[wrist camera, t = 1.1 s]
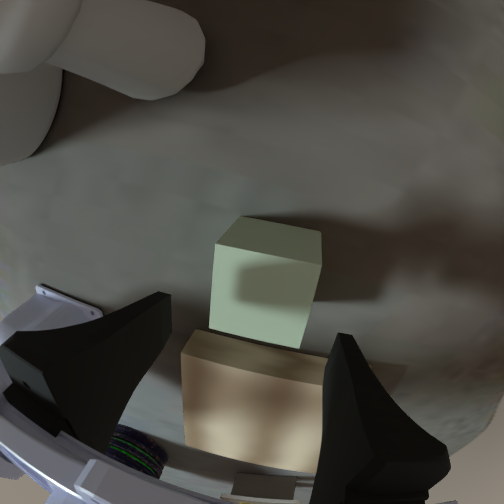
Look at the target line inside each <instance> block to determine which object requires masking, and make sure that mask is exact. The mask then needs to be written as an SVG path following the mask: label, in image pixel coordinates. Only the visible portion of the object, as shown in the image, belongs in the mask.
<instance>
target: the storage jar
mask: <svg viewBox="0 0 504 504" xmlns="http://www.w3.org/2000/svg"><path fill="white" fill-rule="evenodd" d="M105 456H107V457H109V458H111V459H113V460H115V461H117V462H120V463H122V464H124V465H126V466H128V467H130V468H133V469H135V470H137V471H139V472H142V473H144V474H146V475H149V476H151V477H154V478H156V479H159V478H160V476H161V474H162V470H163V468H164V464H165V463H166V462H167V460H168V455H167V453H166V451H165V450H164V449H163V448H162V447H161V446H160V445H159V444H158V443H156V442H155V441H154V440H152V439H151V438H149V437H148V436H146V435H144V434H143V433H141V432H139V431H137V430H135V429H133V428H130V427H128V426H125V425H121V424H117V426H116V429H115V431H114V433H113V436H112V438H111V441H110V443H109V446H108V449H107V451H106V454H105Z"/></svg>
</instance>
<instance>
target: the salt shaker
mask: <svg viewBox="0 0 504 504" xmlns="http://www.w3.org/2000/svg"><path fill="white" fill-rule="evenodd" d="M205 42H206V39H205V37H204V35H203V32H202V30H201V28H200V25H199V23H198V21H197V20H196V19H195V18H193V17H191V16H190V15H188V14H186V13H185V12H183V11H181V10H179V9H175V8H172V7H169V6H166V5H162V4H159V3H155V2H151V1H148V0H0V74H9V73H20V72H28V71H31V70H34V69H35V68H37V67H38V66H39V65H41V64H42V63H44V62H45V63H48V64H51V65H53V66H56V67H59V68H62V69H64V70H67V71H70V72H72V73H75V74H77V75H80V76H82V77H85V78H87V79H90V80H92V81H95V82H97V83H100V84H102V85H104V86H107V87H109V88H111V89H114V90H116V91H118V92H121V93H123V94H125V95H127V96H130V97H132V98H137V99H144V100H150V101H152V100H157V99H160V98H164V97H167V96H171V95H174V94H176V93H178V92H179V91H180V90H181V89H182V88H184V87H185V86H186V85H187V84H188V83H189V82H190V81H192V80H193V78H194V76H195V75H196V73H197V71H198V70H199V69H200V68H201V67H202V66H203V65H204V56H205Z"/></svg>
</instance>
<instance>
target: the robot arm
mask: <svg viewBox="0 0 504 504" xmlns="http://www.w3.org/2000/svg"><path fill="white" fill-rule="evenodd" d="M36 292H37V294H36V295H34V296H33V297H32V298H30V299H29V300H28V301H26V302H25V303H24V304H22V305H21V306H20V307H18V308H17V309H16V310H14V311H13V312H12V313H10V314H9V315H8V316H6V317H5V318H4V319H3V320H2V321H1V322H0V477H3V478H8V479H14V480H17V479H19V478H20V477H22V476H23V475H24V474H25V473H26V474H27V475H28V476H29V477H31V478H32V479H33V480H34V481H35V482H37V483H38V484H39V485H41V486H42V487H43V488H44V489H46V490H48V491H49V492H50V493H51V495H50V496H49V498H48V499H47V501H46V502H45V504H238V503H233V502H229V501H225V500H221V499H217V498H213V497H210V496H206V495H203V494H200V493H196V492H193V491H190V490H187V489H184V488H181V487H178V486H175V485H172V484H170V483H167V482H164V481H161V480H159V479H156V478H154V477H151V476H149V475H146V474H144V473H142V472H139V471H137V470H135V469H133V468H130V467H128V466H126V465H124V464H122V463H120V462H117V461H115V460H113V459H111V458H109V457H107V456H105V454H106V451H107V449H108V446H109V443H110V441H111V438H112V436H113V433H114V431H115V429H116V426H117V424H118V422H119V420H120V417H121V415H122V413H123V411H124V409H125V407H126V405H127V403H128V401H129V399H130V397H131V395H132V394H133V392H134V390H135V388H136V387H137V385H138V384H139V382H140V381H141V379H142V378H143V376H144V375H145V374H146V372H147V371H148V369H149V368H150V367H151V365H152V364H153V362H154V361H155V360H156V358H157V357H158V355H159V354H160V352H161V351H162V349H163V348H164V346H165V344H166V342H167V340H168V338H169V336H170V334H171V332H172V322H171V295H170V294H166V293H162V292H156V293H154V294H152V295H149V296H147V297H145V298H143V299H141V300H139V301H137V302H135V303H133V304H131V305H128V306H126V307H124V308H122V309H120V310H117V311H115V312H112V313H110V314H108V315H105V316H103V313H102V311H101V310H100V309H98V308H95V307H93V306H90V305H87V304H85V303H82V302H80V301H77V300H75V299H72V298H70V297H67V296H65V295H63V294H60V293H58V292H55V291H53V290H51V289H49V288H46V287H44V286H42V285H39V284H38V285H37V286H36ZM450 469H451V465H450V459H449V454H448V450H447V447H446V445H445V444H443V443H442V442H440V441H439V440H437V439H436V438H434V437H433V436H431V435H430V434H429V433H427V432H426V431H425V430H424V429H422V428H421V427H420V426H419V425H417V424H416V423H415V422H414V421H413V420H412V419H411V418H410V417H409V416H408V415H407V414H406V413H405V412H404V411H403V410H402V409H401V408H400V407H399V406H398V405H397V404H396V403H395V401H394V400H393V399H392V398H391V397H390V395H389V394H388V393H387V392H386V390H385V389H384V388H383V386H382V385H381V383H380V382H379V380H378V379H377V378H376V376H375V375H374V373H373V371H372V370H371V368H370V366H369V365H368V363H367V361H366V359H365V358H364V356H363V354H362V352H361V350H360V349H359V347H358V345H357V343H356V341H355V339H354V338H353V336H352V335H349V334H344V333H338V334H337V337H336V340H335V342H334V345H333V348H332V350H331V353H330V355H329V358H328V361H327V363H326V366H325V369H324V378H323V386H322V440H321V447H320V454H319V460H318V466H317V471H316V476H315V481H314V486H313V490H312V495H311V499H310V502H309V504H425V500H427V499H428V498H429V493H428V490H429V489H430V488H432V487H433V486H434V485H435V484H437V483H438V482H439V481H441V480H442V479H443V478H444V477H445V476H446V475H447V474H448V472H449V471H450ZM438 504H458V503H457V501H456V500H455V501H449V502H444V503H438Z"/></svg>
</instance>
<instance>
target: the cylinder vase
mask: <svg viewBox="0 0 504 504" xmlns="http://www.w3.org/2000/svg"><path fill="white" fill-rule="evenodd" d="M61 85H62V68H59V67H56V66H53V65H51V64H48V63H45V62H44V63H42V64H41V65H39V66H38V67H37V68H35V69H34V70H31V71H28V72H20V73H9V74H0V166H3V165H7V164H11V163H15V162H18V161H21V160H24V159H26V158H27V157H29V156H30V155H31V154H32V153H33V152H34V151H35V150H36V149H37V148H38V147H39V146H40V144H41V143H42V141H43V140H44V138H45V136H46V135H47V133H48V131H49V129H50V126H51V124H52V122H53V119H54V116H55V113H56V110H57V106H58V102H59V98H60V92H61Z"/></svg>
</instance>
